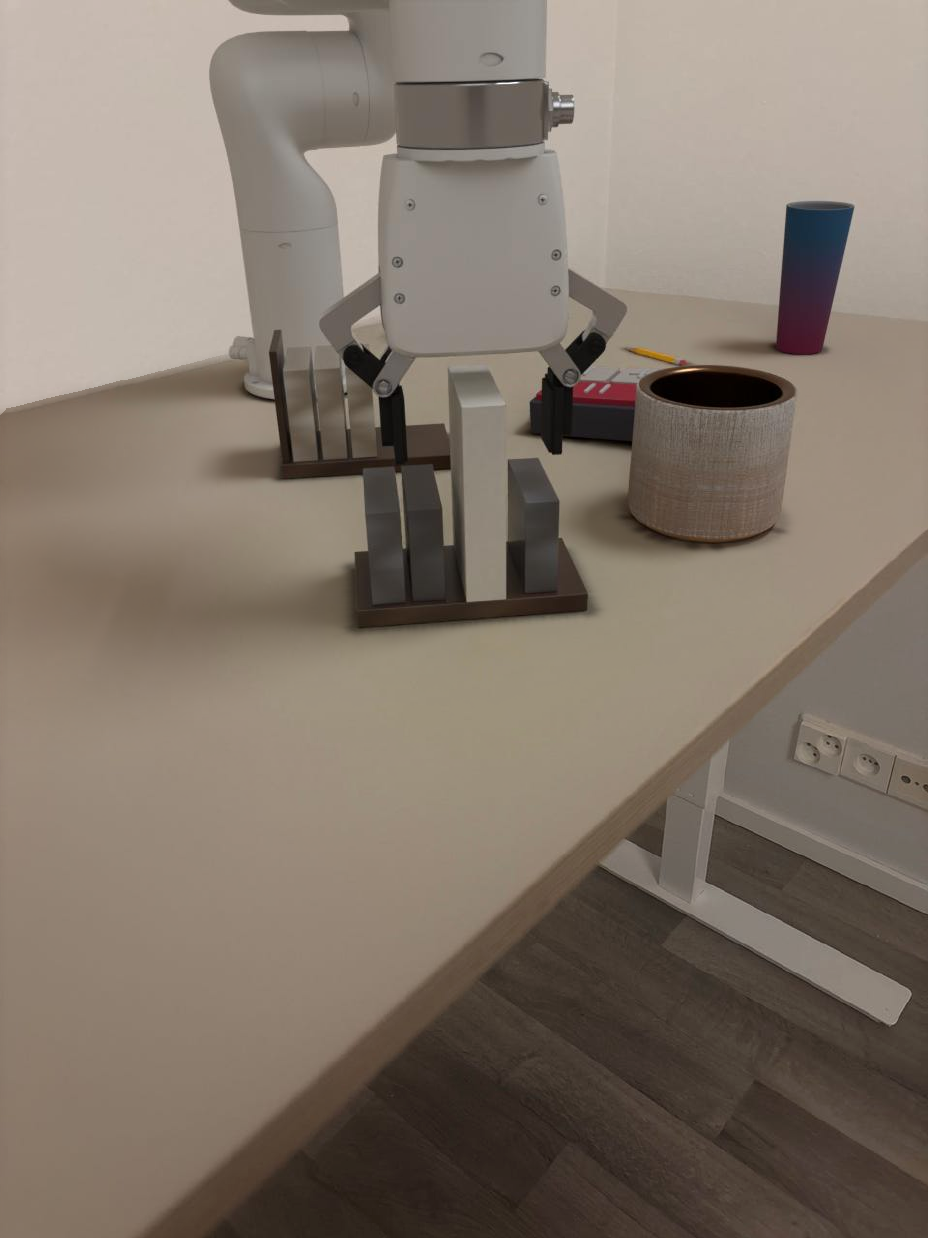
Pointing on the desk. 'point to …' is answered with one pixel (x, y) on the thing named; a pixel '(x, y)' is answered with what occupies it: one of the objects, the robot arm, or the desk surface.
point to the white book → (478, 480)
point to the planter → (710, 451)
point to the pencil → (658, 356)
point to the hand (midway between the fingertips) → (476, 450)
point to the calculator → (600, 403)
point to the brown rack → (337, 419)
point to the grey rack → (429, 571)
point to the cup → (810, 272)
